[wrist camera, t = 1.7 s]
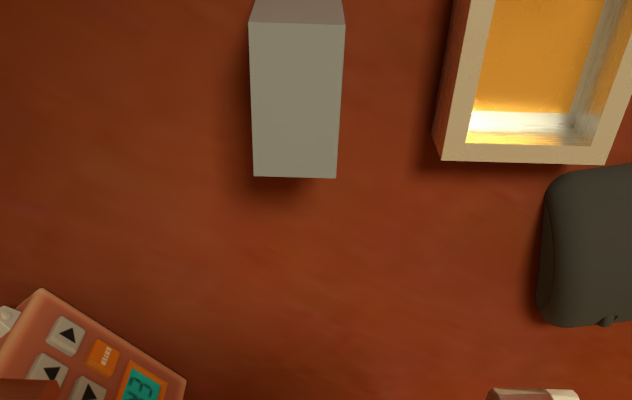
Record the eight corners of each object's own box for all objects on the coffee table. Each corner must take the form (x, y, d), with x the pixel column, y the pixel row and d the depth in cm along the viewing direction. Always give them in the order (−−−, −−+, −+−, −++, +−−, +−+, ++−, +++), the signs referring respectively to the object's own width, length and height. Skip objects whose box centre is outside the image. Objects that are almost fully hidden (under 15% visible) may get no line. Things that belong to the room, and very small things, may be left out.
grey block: (261, -18, 24) (248, 22, 19) (339, -15, 24) (345, 25, 20) (264, 114, 28) (253, 176, 23) (331, 116, 28) (335, 178, 23)
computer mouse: (532, 312, 37) (553, 360, 33) (544, 172, 30) (572, 214, 27) (629, 301, 36) (661, 349, 33) (662, 155, 30) (705, 196, 26)
